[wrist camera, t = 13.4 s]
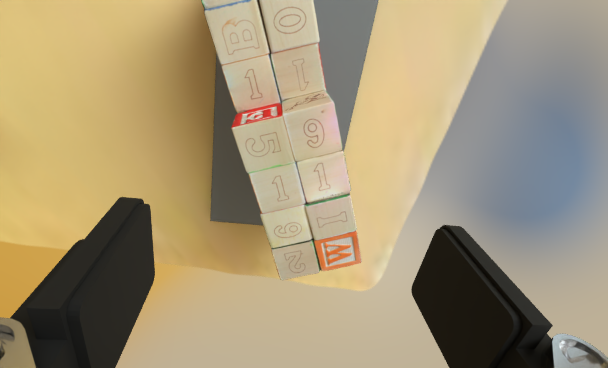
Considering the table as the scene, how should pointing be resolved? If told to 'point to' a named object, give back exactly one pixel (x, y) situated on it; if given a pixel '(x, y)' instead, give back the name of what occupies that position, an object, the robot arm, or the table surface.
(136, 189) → the table surface
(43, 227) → the table surface
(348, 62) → the charcoal mat
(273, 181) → the stack of blocks
